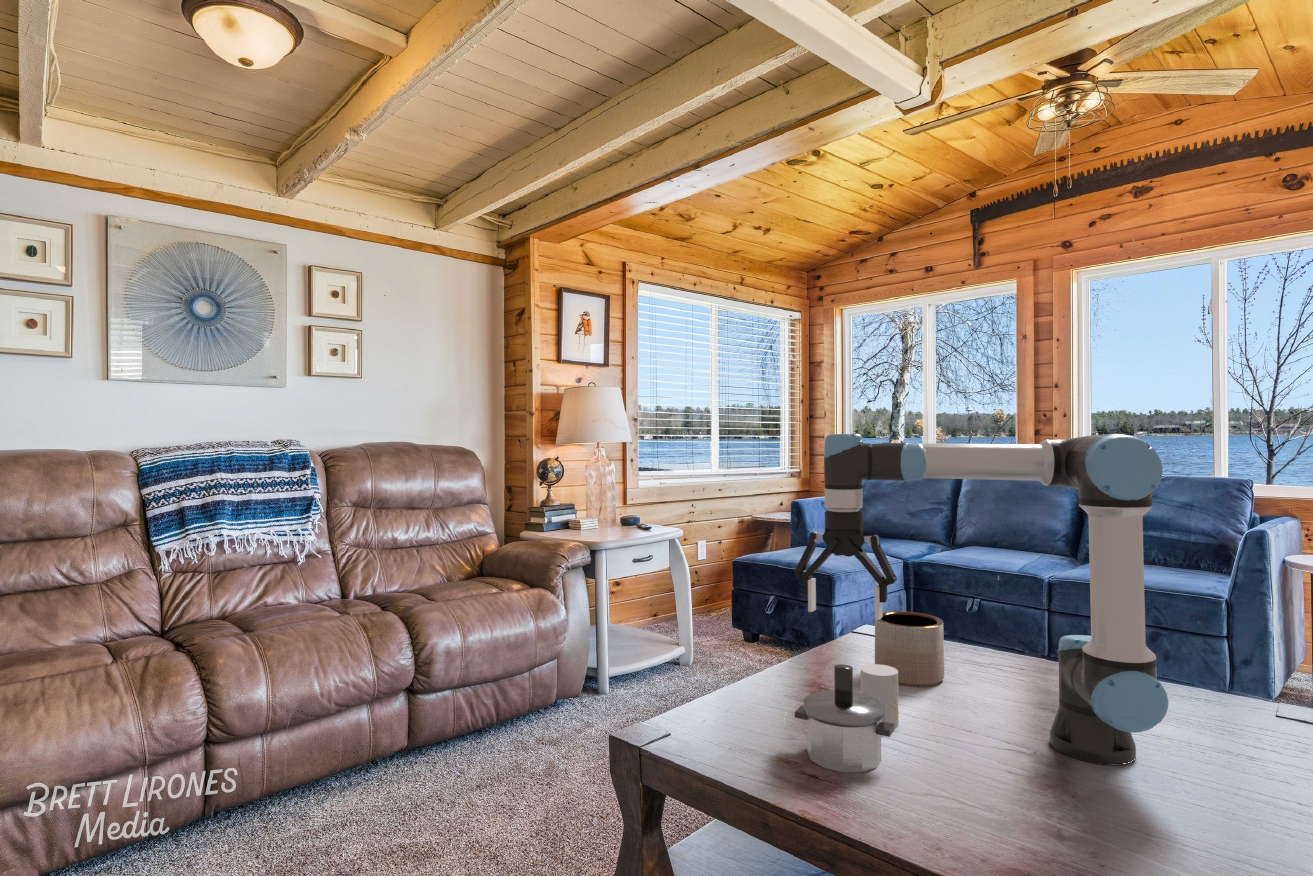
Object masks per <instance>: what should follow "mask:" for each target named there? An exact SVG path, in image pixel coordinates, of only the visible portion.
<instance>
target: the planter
mask: <svg viewBox="0 0 1313 876" xmlns="http://www.w3.org/2000/svg"><path fill="white" fill-rule="evenodd" d="M944 639H945V638H944V621H943V620H942V619H941V618H939V617H938V616H934V615H930V614H928V613H927V614H926V613H920V612H912V611H887V612H882V618H881V619H880V620H875V619H874V664H880V665H886V666H890V667H893V668H895V669H897V670H898V685H901V686H906V687H908V686H909V687H931V686H934V685H937V684H939V683H941V682H942V681H943V680H944V678H945V650H944V649H945V648H944V647H945V644H944V643H945V641H944Z"/></svg>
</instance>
